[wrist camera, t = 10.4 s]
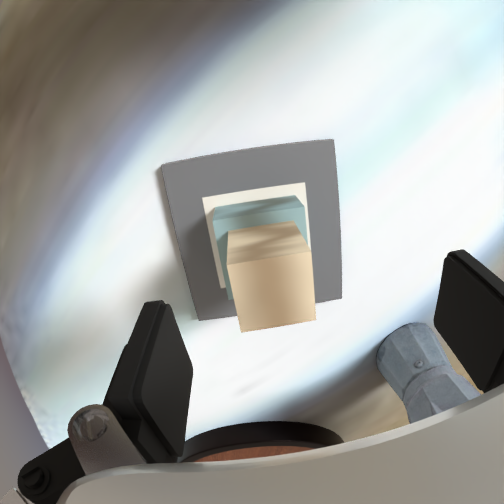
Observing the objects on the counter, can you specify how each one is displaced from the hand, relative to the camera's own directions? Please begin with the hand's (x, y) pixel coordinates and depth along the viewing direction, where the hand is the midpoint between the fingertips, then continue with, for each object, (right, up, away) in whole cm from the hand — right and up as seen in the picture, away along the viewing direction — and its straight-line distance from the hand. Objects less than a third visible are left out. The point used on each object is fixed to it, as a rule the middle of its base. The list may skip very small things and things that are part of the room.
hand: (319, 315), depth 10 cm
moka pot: (+19, -11, +27) cm, 35 cm away
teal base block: (-1, +3, +19) cm, 19 cm away
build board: (-1, +4, +20) cm, 20 cm away
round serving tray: (-1, -37, +38) cm, 53 cm away
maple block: (-1, +2, +15) cm, 15 cm away
